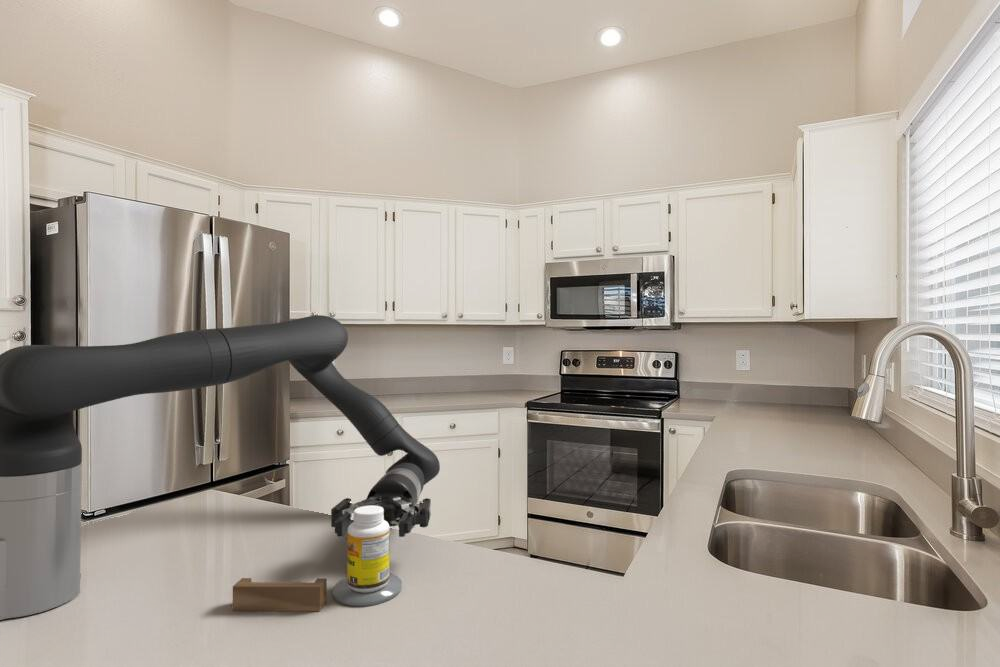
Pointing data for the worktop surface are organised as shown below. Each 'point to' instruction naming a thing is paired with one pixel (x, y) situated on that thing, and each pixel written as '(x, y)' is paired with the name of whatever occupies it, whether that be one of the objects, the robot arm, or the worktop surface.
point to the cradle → (279, 595)
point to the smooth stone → (367, 599)
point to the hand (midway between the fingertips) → (370, 529)
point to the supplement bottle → (368, 550)
